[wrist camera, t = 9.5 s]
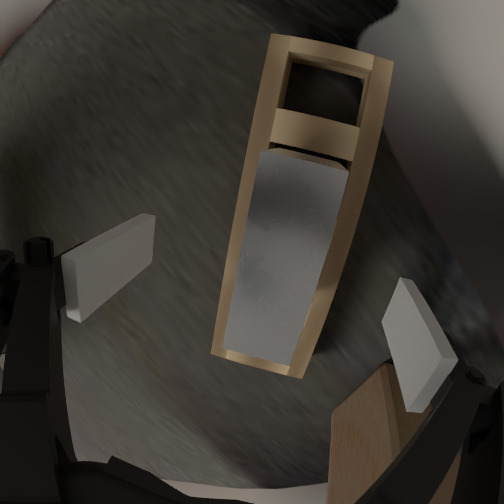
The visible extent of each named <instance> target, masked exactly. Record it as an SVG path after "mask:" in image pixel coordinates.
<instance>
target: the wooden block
mask: <svg viewBox="0 0 504 504" xmlns="http://www.w3.org/2000/svg"><path fill="white" fill-rule="evenodd" d="M431 411H432V406H431V403H429V404H428V406H427V407H426V408H425V410H424V411H423V412H422V413H416V412H406V408H405V404H404V400H403V396H402V392H401V388H400V384H399V380H398V377H397V373H396V369H395V366H394V365H392V364H390V363H384V364H382V365H380V366H379V367H378V368H377V369H376V370H375V371H374V372H373V373H372V374H371V375H370V376H369V377H368V378H367V379H366V380H365V381H364V382H363V383H362V384H361V385H360V386H359V387H358V388H357V389H356V390H355V391H353V392H352V393H351V394H350V395H349V396H348V397H347V398H346V399H345V400H344V401H342V402H341V403H340V404H339V405H338V406H337V407H336V408H335V409H334V411H333V413H332V420H331V444H330V462H329V477H328V490H327V502H326V504H354V503H355V502H356V501H357V500H358V499H359V498H360V497H361V496H362V495H363V494H364V493H365V492H366V491H367V490H368V489H369V488H370V487H371V486H372V484H373V483H374V482H375V481H376V480H377V479H378V478H379V477H380V476H381V475H382V473H383V472H384V471H385V470H386V469H387V468H388V467H389V465H390V464H391V463H392V462H393V461H394V459H395V458H396V457H397V456H398V455H399V453H400V452H401V451H402V450H403V448H404V447H405V446H406V445H407V443H408V442H409V441H410V439H411V438H412V437H413V435H414V434H415V433H416V431H417V430H418V429H419V428H418V427H419V426H420V425H421V423H422V422H423V421H424V420H425V418H426V417H427V416H428V415H429V413H430V412H431ZM459 464H460V456H459V452H458V453H457V455H456V457H455V459H454V461H453V463H452V465H451V467H450V469H449V470H448V472H447V474H446V476H445V478H444V479H443V481H442V483H441V484H440V486H439V488H438V489H437V491H436V493H435V494H434V496H433V498H432V499H431V501H430V502H429V504H450V503H451V499H452V495H453V491H454V487H455V483H456V479H457V474H458V469H459Z"/></svg>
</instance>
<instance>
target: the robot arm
mask: <svg viewBox="0 0 504 504" xmlns="http://www.w3.org/2000/svg"><path fill="white" fill-rule="evenodd" d="M155 218H156V216H154V215H149V214H145V213H143V214H140V215H138V216H136V217H134V218H132V219H130V220H128V221H126V222H124V223H122V224H120V225H118V226H116V227H114V228H112V229H110V230H108V231H106V232H105V233H103V234H101V235H99V236H97V237H95V238H93V239H91V240H89V241H86V242H82V243H80V244H78V245H76V246H74V248H73V247H72V248H71V249H69V250H68V251H65V252H63V253H61V254H60V255H58V256H56V257H54V248H53V240H52V239H50V238H47V237H34V238H31V239H28V240H26V241H25V242H24V243H23V249H24V258H25V264H20V263H15V255H14V253H13V252H12V251H9V250H0V356H1V354H4V353H6V354H5V362H4V371H3V381H2V392H1V394H0V504H253V503H248V502H244V501H240V500H229V499H209V498H198V497H190V496H187V495H185V494H183V493H181V492H180V491H178V490H177V489H175V488H173V487H172V486H170V485H168V484H167V483H165V482H164V481H162V480H161V479H159V478H158V477H156V476H155V475H153V474H152V473H150V472H148V471H146V470H143V469H141V468H139V467H136V466H134V465H132V464H129V463H127V462H125V461H123V460H121V459H118V458H116V457H114V456H111V458H110V460H109V461H108V463H107V464H106V463H100V462H93V461H77V458H76V455H75V452H74V448H73V443H72V438H71V432H70V426H69V420H68V413H67V405H66V397H65V387H64V377H63V363H62V343H61V313H60V309H61V308H62V307H63V306H65V305H66V311H67V317H69V318H71V319H73V320H75V321H78V322H80V323H82V322H83V321H84V320H85V319H86V318H87V317H88V316H90V315H91V314H92V313H93V312H94V311H95V310H96V309H98V308H99V307H100V306H101V305H102V304H103V303H104V302H106V301H107V300H108V299H109V298H110V297H111V296H113V295H114V294H115V293H116V292H117V291H119V290H120V289H121V288H122V287H123V286H124V285H126V284H127V283H128V282H129V281H130V280H132V279H133V278H134V277H135V276H136V275H138V274H139V273H140V272H141V271H142V270H144V269H145V268H146V267H147V266H148V265H150V264H151V263H152V254H153V240H154V229H155ZM382 325H383V328H384V331H385V335H386V338H387V341H388V345H389V348H390V351H391V355H392V358H393V362H394V366H395V369H396V373H397V377H398V380H399V384H400V388H401V392H402V396H403V400H404V404H405V408H406V412H416V413H422V412H423V411H424V410H425V408H426V407H427V406H428V404H429V403H431V406H432V411H431V412H430V413H429V415H428V416H427V417H426V418H425V420H424V421H423V422H422V423H421V425H420V426H419V427H418V428H419V429H418V430H417V431H416V433H415V434H414V435H413V437H412V438H411V439H410V441H409V442H408V443H407V445H406V446H405V447H404V448H403V450H402V451H401V452H400V453H399V455H398V456H397V457H396V458H395V459H394V461H393V462H392V463H391V464H390V465H389V467H388V468H387V469H386V470H385V471H384V472H383V473H382V475H381V476H380V477H379V478H378V479H377V480H376V481H375V482H374V483H373V484H372V486H371V487H370V488H369V489H368V490H367V491H366V492H365V493H364V494H363V495H362V496H361V497H360V498H359V499H358V500H357V501H356V502H355V503H354V504H429V502H430V501H431V499H432V498H433V496H434V494H435V493H436V491H437V489H438V488H439V486H440V484H441V483H442V481H443V479H444V478H445V476H446V474H447V472H448V470H449V469H450V467H451V465H452V463H453V461H454V459H455V457H456V455H457V453H458V451H459V449H460V447H461V445H462V443H463V448H462V454H461V459H460V464H459V469H458V474H457V479H456V483H455V487H454V491H453V495H452V499H451V503H450V504H504V381H503V382H501V384H500V385H499V387H498V388H497V389H495V388H492V387H490V386H487V385H486V384H487V381H486V379H485V377H484V375H483V374H482V373H481V372H480V371H478V370H477V369H475V368H473V367H470V366H467V365H466V363H465V361H464V360H463V358H462V356H461V354H460V352H459V351H458V348H457V347H456V346H455V343H454V341H453V340H452V338H451V337H450V336H449V334H448V333H446V332H445V331H444V330H442V329H441V327H440V325H439V323H438V322H437V320H436V318H435V316H434V315H433V313H432V311H431V310H430V308H429V306H428V305H427V303H426V301H425V300H424V298H423V296H422V295H421V293H420V291H419V290H418V288H417V287H416V285H415V283H414V282H413V280H409V279H405V278H401V277H400V279H399V281H398V284H397V286H396V289H395V291H394V294H393V296H392V299H391V301H390V303H389V306H388V308H387V310H386V313H385V315H384V317H383V319H382ZM463 441H464V442H463Z"/></svg>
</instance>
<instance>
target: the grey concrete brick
mask: <svg viewBox="0 0 504 504" xmlns="http://www.w3.org/2000/svg"><path fill="white" fill-rule="evenodd" d="M348 175H349V171H347V170H346V169H345V168H344V167H343V166H342V165H341V164H340V163H339V162H335V161H332V160H328V159H324V158H320V157H316V156H312V155H308V154H304V153H300V152H295V151H291V150H287V149H282V148H275V149H267V150H261V151H260V156H259V161H258V166H257V171H256V176H255V181H254V186H253V191H252V196H251V201H250V206H249V211H248V216H247V221H246V226H245V231H244V236H243V242H242V247H241V252H240V257H239V262H238V267H237V273H236V278H235V283H234V288H233V294H232V299H231V304H230V310H229V315H228V320H227V326H226V331H225V336H224V342H223V347H222V348H225V349H229V350H232V351H235V352H239V353H242V354H246V355H249V356H253V357H256V358H260V359H264V360H268V361H271V362H275V363H279V364H283V365H287V366H290V363H291V361H292V358H293V355H294V352H295V350H296V347H297V344H298V341H299V338H300V335H301V333H302V330H303V327H304V324H305V321H306V318H307V315H308V312H309V309H310V306H311V303H312V300H313V297H314V294H315V291H316V287H317V284H318V281H319V278H320V275H321V272H322V268H323V265H324V262H325V258H326V255H327V252H328V248H329V245H330V241H331V238H332V235H333V231H334V227H335V224H336V220H337V217H338V213H339V209H340V206H341V202H342V198H343V194H344V190H345V187H346V183H347V179H348Z"/></svg>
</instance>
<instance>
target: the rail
mask: <svg viewBox="0 0 504 504" xmlns="http://www.w3.org/2000/svg"><path fill="white" fill-rule="evenodd" d="M292 63H298V64H303V65H308V66H313V67H318V68H322V69H327V70H331V71H335V72H339V73H343V74H347V75H351V76H355V77H358V78H362V79H365V81H364V86H363V91H362V96H361V101H360V106H359V111H358V116H357V121H356V125H355V126H352V125H348V124H344V123H341V122H337V121H333V120H329V119H325V118H321V117H317V116H313V115H308V114H304V113H299V112H295V111H290V110H285V109H283V106H284V101H285V96H286V91H287V87H288V82H289V77H290V72H291V67H292ZM393 65H394V61H391V60H388V59H385V58H382V57H378V56H375V55H372V54H368V53H365V52H361V51H358V50H354V49H350V48H346V47H342V46H338V45H334V44H329V43H325V42H320V41H315V40H310V39H305V38H299V37H293V36H287V35H280V34H273V33H271V36H270V40H269V45H268V50H267V54H266V59H265V63H264V68H263V73H262V78H261V82H260V87H259V92H258V97H257V101H256V106H255V111H254V116H253V121H252V126H251V131H250V136H249V141H248V146H247V151H246V156H245V162H244V167H243V172H242V177H241V182H240V188H239V193H238V198H237V204H236V209H235V215H234V220H233V226H232V231H231V237H230V242H229V248H228V254H227V259H226V265H225V271H224V277H223V283H222V288H221V294H220V300H219V306H218V312H217V319H216V325H215V331H214V337H213V343H212V350H211V354H213V355H216V356H219V357H222V358H226V359H229V360H232V361H236V362H239V363H243V364H246V365H250V366H253V367H257V368H261V369H264V370H268V371H272V372H276V373H280V374H284V375H288V376H292V377H296V378H300V379H302V377H303V375H304V373H305V370H306V368H307V365H308V363H309V360H310V358H311V356H312V353H313V351H314V348H315V345H316V343H317V340H318V338H319V335H320V333H321V330H322V327H323V325H324V322H325V319H326V317H327V314H328V311H329V308H330V306H331V303H332V300H333V297H334V294H335V291H336V289H337V286H338V283H339V280H340V277H341V274H342V271H343V268H344V265H345V262H346V259H347V255H348V252H349V249H350V246H351V243H352V239H353V236H354V233H355V230H356V226H357V223H358V219H359V216H360V212H361V209H362V205H363V202H364V198H365V194H366V191H367V187H368V183H369V179H370V175H371V171H372V167H373V163H374V159H375V155H376V151H377V147H378V142H379V138H380V133H381V129H382V124H383V119H384V115H385V110H386V105H387V99H388V94H389V89H390V83H391V78H392V72H393ZM276 143H280V144H285V145H289V146H294V147H298V148H302V149H307V150H311V151H315V152H319V153H323V154H327V155H330V156H334V157H338V158H342V159H345V160H347V165H346V170H347V171H349V175H348V179H347V183H346V187H345V190H344V194H343V198H342V202H341V206H340V209H339V213H338V217H337V220H336V224H335V227H334V231H333V235H332V238H331V241H330V245H329V248H328V252H327V255H326V258H325V262H324V265H323V268H322V272H321V275H320V278H319V281H318V284H317V287H316V291H315V294H314V297H313V300H312V303H311V306H310V309H309V312H308V315H307V318H306V321H305V324H304V327H303V330H302V333H301V335H300V338H299V341H298V344H297V347H296V350H295V352H294V355H293V358H292V361H291V363H290V366H287V365H283V364H279V363H275V362H271V361H268V360H264V359H260V358H256V357H253V356H249V355H246V354H242V353H239V352H235V351H232V350H229V349H225V348H222V347H223V342H224V336H225V331H226V326H227V320H228V315H229V310H230V304H231V299H232V294H233V288H234V283H235V278H236V273H237V267H238V262H239V257H240V252H241V247H242V242H243V236H244V231H245V226H246V221H247V216H248V211H249V206H250V201H251V196H252V191H253V186H254V181H255V176H256V171H257V166H258V161H259V156H260V151H261V150H267V149H275V144H276Z"/></svg>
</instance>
